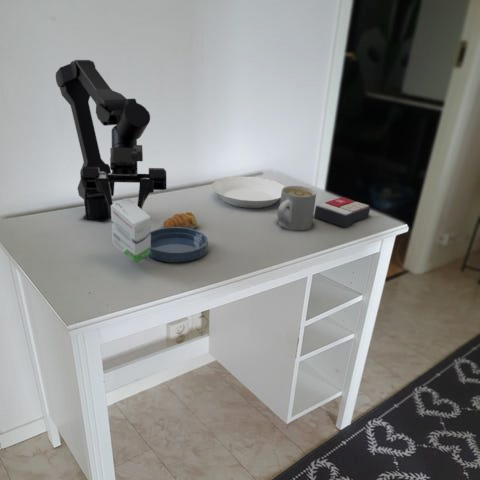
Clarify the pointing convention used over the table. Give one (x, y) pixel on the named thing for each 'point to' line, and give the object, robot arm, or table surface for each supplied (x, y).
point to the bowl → (248, 191)
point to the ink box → (131, 229)
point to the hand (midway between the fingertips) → (125, 213)
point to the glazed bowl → (177, 244)
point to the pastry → (181, 221)
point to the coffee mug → (296, 207)
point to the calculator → (341, 211)
